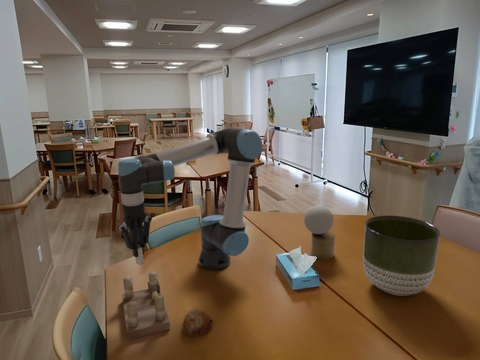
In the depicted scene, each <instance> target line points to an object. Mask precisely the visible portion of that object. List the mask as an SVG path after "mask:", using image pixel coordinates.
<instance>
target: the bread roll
mask: <svg viewBox="0 0 480 360" xmlns="http://www.w3.org/2000/svg"><path fill="white" fill-rule="evenodd" d="M212 326H213V318H212V315H211V314H210V313H208V312H206V311H205V310H202V309H199V308H193V309H191V310H189V311H188V312H187V313H186V315H185V316H184V319H183V322H182V331H183V332H184V334H185V335H187V336H188V337H189V336H190V337H198V336H202V335H205V334H206V333H208V332H209V331H210V330H211V329H212Z"/></svg>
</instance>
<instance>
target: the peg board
mask: <svg viewBox="0 0 480 360" xmlns="http://www.w3.org/2000/svg"><path fill="white" fill-rule="evenodd" d="M122 280H123V282H122V283H123V290H124V293H122V295H121V297H122V305H123V314H124V315H123V316H124V322H125V332H126V340H127V341H130V340H134V339H139V338H142V337H146V336H150V335H153V334H154V335H155V334H157V333H161V332H166V331H170V330H171V325H170V324H171V323H170V319H169V316H168V313H167V310H166V306H165V297H164V296H163V295H162V294H161V286H160V282H159V281H158V292H157V293H158V294H159V296H157V297H155V299H154V300H155V301H152V293H150V285H149V281H147V289H143V290H138V291H134V284H133V277H132V276H125V277H123V278H122Z"/></svg>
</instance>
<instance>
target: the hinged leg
mask: <svg viewBox="0 0 480 360" xmlns="http://www.w3.org/2000/svg"><path fill="white" fill-rule="evenodd" d="M148 282H149V285H150V293H152V301H155V300H154V299H155V297H157V296H159V294H158V293H157V292H158V282H159V279H158V272H157V271H151V272H149V273H148Z"/></svg>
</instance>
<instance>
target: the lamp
mask: <svg viewBox="0 0 480 360" xmlns="http://www.w3.org/2000/svg"><path fill="white" fill-rule="evenodd" d="M334 221H335V219H334V215H333V213H332V211H331V210H330V209H329V208H327V207H326V206H323V205H314V206H312V207H310V208H308V209H307V211H306V212H305V214H304V218H303V222H304V226H305V227H306V230H307V231H309V232H311V242H310V243H311V245H310V246H311V247H310V255H311V254H312V255H311V256H312V257H313V256H316V257H317V258H318V260H323V259H327V260H330V259H329V258H331V259H333V258H334V257H335V246H336V245H335V244H336V243H335V242H336V234H334V233H333V232H330V231H331V230H332V228H333V226H334V224H335V223H334ZM333 256H334V257H333ZM332 257H333V258H332ZM317 258H316V259H317Z"/></svg>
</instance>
